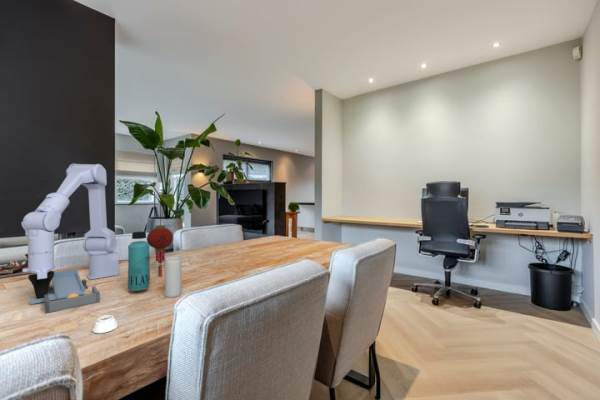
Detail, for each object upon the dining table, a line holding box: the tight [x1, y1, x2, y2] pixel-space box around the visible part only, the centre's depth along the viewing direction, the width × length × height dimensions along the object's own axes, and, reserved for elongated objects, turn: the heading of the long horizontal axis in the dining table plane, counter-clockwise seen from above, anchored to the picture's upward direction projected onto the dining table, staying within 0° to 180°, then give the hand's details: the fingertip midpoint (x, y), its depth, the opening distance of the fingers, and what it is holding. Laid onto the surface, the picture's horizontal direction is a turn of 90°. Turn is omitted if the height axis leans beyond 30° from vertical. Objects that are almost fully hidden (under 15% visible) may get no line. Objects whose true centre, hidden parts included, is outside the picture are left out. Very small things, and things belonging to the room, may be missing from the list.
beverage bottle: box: [127, 231, 151, 292], centre depth 93 cm, size 6×7×20 cm
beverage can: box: [164, 256, 182, 299], centre depth 90 cm, size 5×5×12 cm
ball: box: [66, 293, 80, 298], centre depth 82 cm, size 3×3×3 cm
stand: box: [47, 278, 89, 295], centre depth 93 cm, size 10×4×3 cm, turn 134°
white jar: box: [91, 314, 119, 334], centre depth 67 cm, size 5×3×5 cm
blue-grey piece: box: [29, 268, 86, 305], centre depth 91 cm, size 13×18×3 cm
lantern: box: [146, 200, 174, 278], centre depth 110 cm, size 10×10×30 cm
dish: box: [43, 285, 101, 314], centre depth 83 cm, size 12×9×3 cm
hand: (41, 297), depth 83 cm, fingers closed, pressing on blue-grey piece
